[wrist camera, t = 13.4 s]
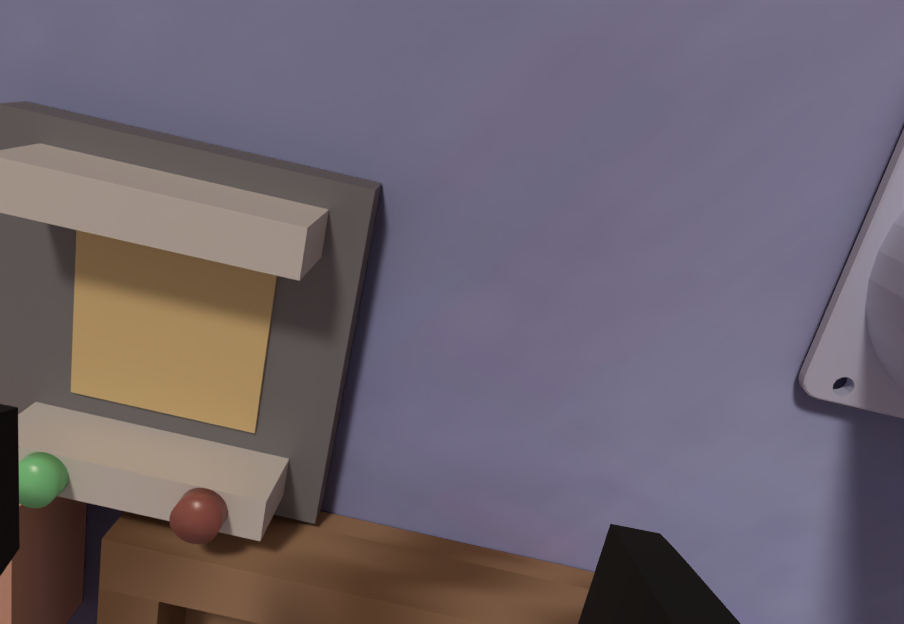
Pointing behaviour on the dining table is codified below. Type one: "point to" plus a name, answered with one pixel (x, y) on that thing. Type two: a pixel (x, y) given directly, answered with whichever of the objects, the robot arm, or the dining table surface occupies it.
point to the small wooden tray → (46, 565)
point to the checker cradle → (174, 320)
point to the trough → (325, 577)
